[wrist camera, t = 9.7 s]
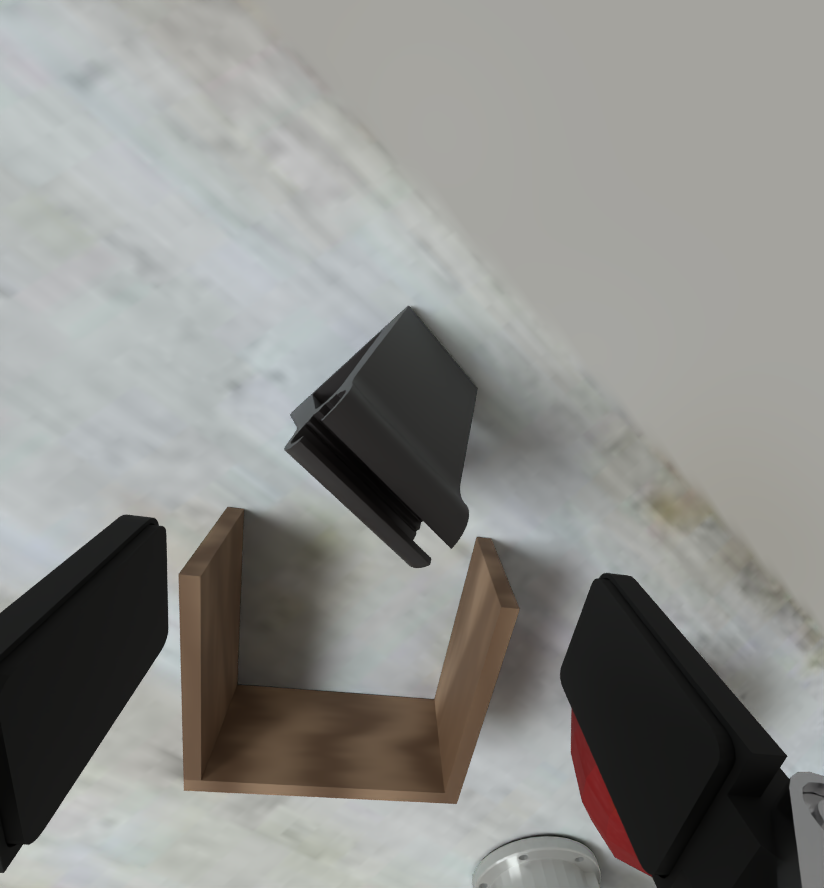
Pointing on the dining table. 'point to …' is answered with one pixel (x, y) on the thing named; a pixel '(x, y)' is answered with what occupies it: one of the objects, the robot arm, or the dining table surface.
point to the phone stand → (392, 436)
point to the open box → (330, 697)
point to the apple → (599, 799)
